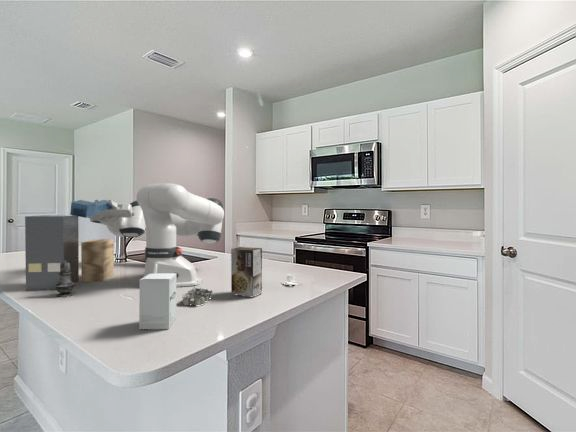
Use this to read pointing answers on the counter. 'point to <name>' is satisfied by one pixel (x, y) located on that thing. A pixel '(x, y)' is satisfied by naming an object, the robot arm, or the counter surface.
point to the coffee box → (246, 271)
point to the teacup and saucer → (290, 279)
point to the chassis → (50, 250)
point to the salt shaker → (65, 281)
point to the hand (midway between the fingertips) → (102, 201)
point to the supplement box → (157, 301)
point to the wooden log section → (97, 260)
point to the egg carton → (196, 296)
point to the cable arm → (88, 208)
